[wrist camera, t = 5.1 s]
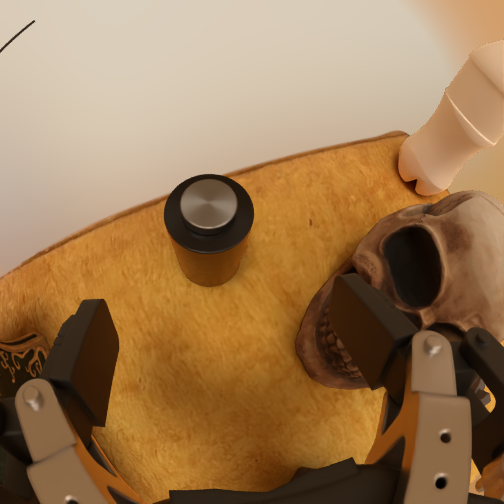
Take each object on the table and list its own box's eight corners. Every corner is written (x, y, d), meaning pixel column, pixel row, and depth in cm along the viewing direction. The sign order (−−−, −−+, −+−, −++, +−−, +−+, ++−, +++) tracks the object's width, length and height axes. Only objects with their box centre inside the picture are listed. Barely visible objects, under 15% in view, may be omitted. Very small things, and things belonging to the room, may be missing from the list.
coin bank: (278, 363, 18) (425, 339, 6) (350, 199, 26) (430, 103, 14) (417, 423, 18) (541, 417, 6) (450, 275, 26) (535, 223, 14)
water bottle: (444, 200, 26) (573, 74, 3) (408, 204, 25) (561, 41, 2) (418, 152, 29) (522, 21, 5) (380, 151, 27) (492, -15, 4)
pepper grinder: (170, 243, 20) (149, 184, 13) (223, 219, 21) (230, 153, 14) (195, 297, 19) (183, 264, 12) (251, 270, 20) (273, 223, 13)
